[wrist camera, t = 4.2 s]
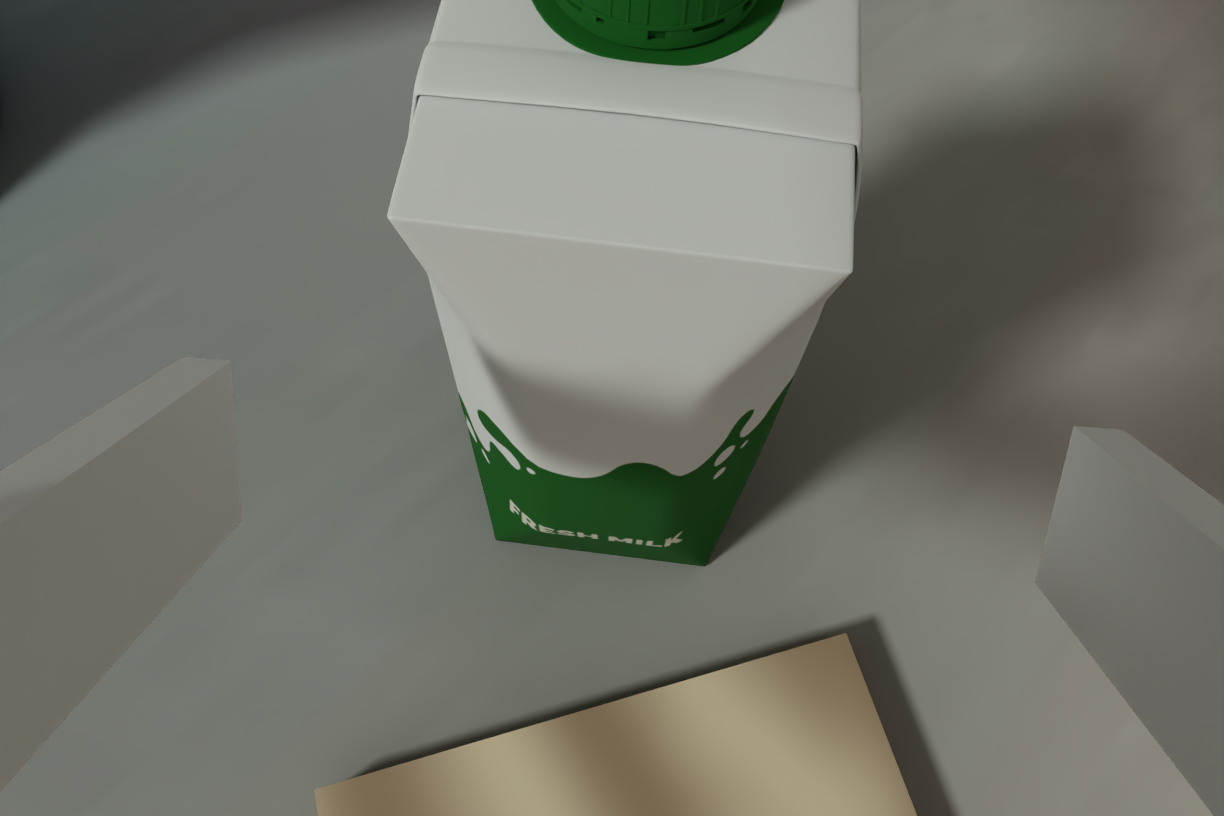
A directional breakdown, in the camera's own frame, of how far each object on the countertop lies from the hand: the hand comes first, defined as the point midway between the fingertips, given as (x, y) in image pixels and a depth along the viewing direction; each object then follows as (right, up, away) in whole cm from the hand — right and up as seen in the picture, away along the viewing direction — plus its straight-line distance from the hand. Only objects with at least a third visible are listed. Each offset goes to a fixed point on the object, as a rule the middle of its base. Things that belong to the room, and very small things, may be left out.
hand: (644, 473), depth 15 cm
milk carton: (0, -1, +18) cm, 18 cm away
